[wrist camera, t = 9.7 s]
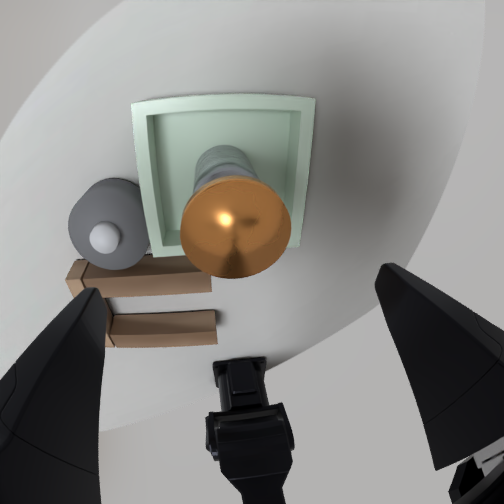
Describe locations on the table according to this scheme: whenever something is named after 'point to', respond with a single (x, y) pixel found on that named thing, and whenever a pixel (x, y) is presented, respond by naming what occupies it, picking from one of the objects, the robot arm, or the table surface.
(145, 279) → the brown u-shaped piece
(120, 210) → the pulley
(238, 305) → the table surface
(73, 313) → the robot arm
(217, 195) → the pin
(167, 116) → the tray
